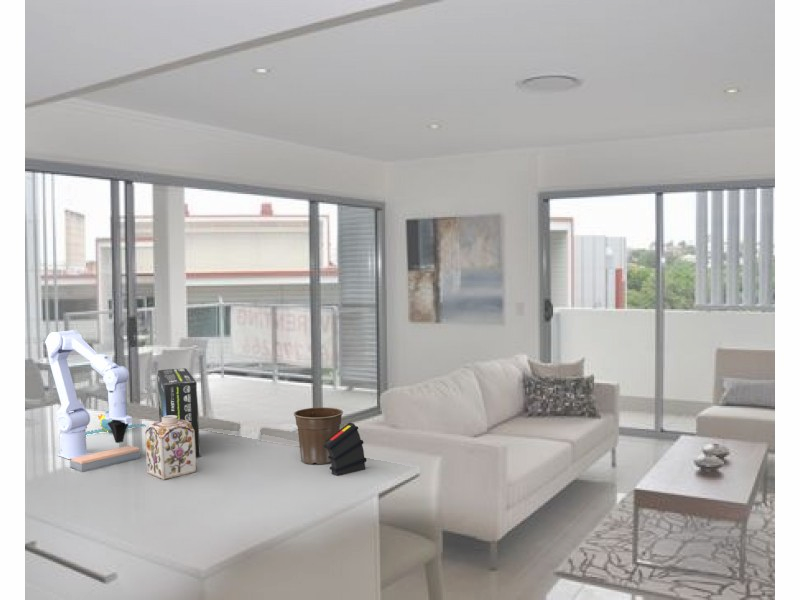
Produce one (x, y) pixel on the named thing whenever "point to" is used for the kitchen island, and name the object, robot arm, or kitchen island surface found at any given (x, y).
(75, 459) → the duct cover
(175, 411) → the router box
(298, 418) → the plant pot
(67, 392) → the robot arm
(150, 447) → the decorative jar
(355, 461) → the magazine
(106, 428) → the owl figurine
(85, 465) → the cable duct
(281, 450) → the kitchen island surface
